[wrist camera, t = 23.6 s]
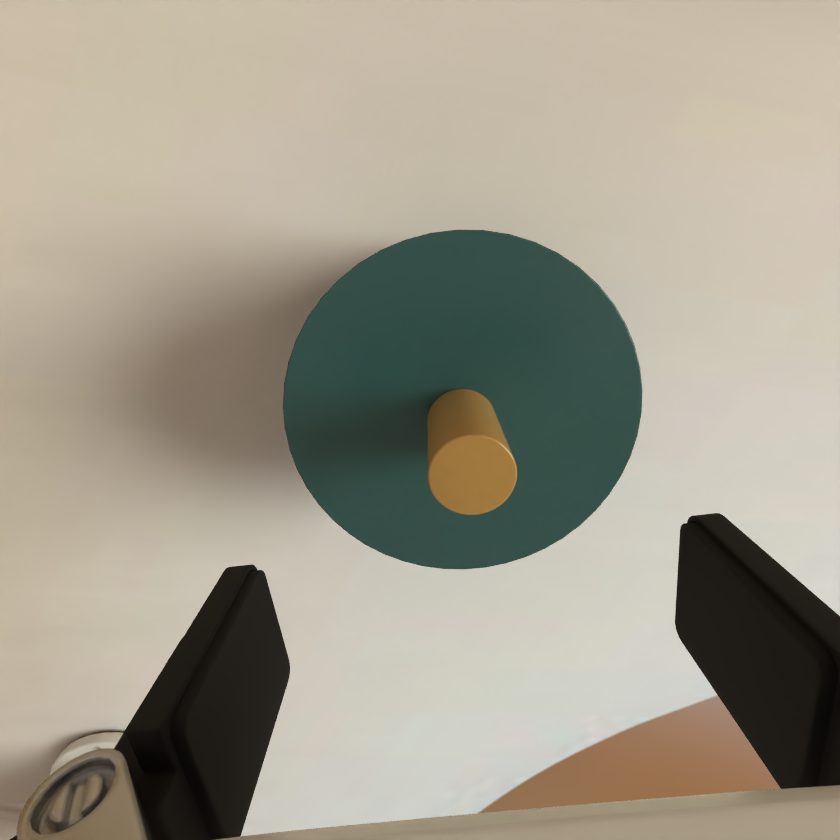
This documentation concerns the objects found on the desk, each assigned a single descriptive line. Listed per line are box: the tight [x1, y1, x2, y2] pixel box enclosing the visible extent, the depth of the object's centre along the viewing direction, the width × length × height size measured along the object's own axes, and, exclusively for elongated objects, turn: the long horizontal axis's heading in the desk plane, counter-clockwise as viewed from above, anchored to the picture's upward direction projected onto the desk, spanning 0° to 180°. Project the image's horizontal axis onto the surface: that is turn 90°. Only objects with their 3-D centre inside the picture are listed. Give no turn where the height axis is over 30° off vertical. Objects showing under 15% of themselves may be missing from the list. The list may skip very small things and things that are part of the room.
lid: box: [283, 230, 642, 569], centre depth 18 cm, size 15×15×6 cm
